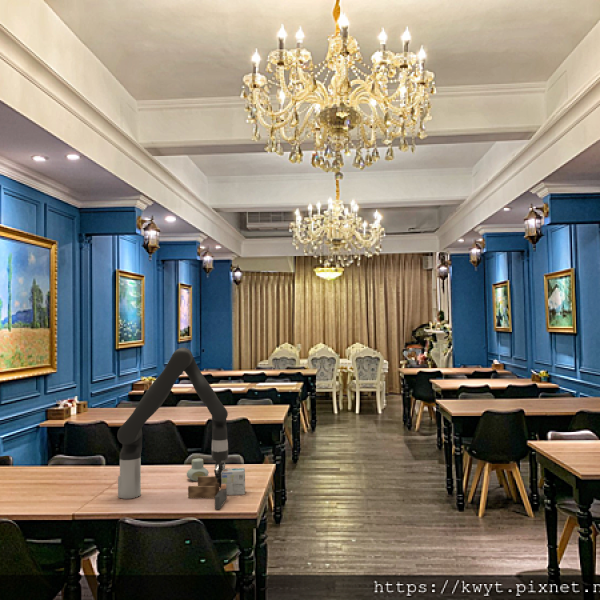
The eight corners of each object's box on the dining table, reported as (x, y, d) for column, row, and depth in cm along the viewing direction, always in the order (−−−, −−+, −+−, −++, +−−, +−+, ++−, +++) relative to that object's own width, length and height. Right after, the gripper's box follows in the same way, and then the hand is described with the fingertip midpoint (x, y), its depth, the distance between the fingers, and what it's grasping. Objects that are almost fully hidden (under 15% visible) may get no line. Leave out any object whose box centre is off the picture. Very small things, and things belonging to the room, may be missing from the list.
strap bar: (214, 509, 227) (214, 493, 227) (222, 498, 241) (222, 484, 241) (219, 509, 226) (219, 493, 227) (226, 498, 240) (226, 484, 241)
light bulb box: (245, 490, 254) (245, 467, 254) (244, 494, 247) (244, 470, 248) (222, 491, 253) (222, 467, 254) (221, 495, 246) (220, 471, 247)
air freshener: (207, 476, 280) (207, 457, 281) (209, 480, 273) (209, 460, 273) (185, 478, 277) (185, 458, 278) (187, 482, 269) (187, 462, 270)
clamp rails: (188, 498, 244) (188, 483, 244) (198, 486, 262) (198, 473, 262) (218, 498, 243) (218, 483, 243) (227, 486, 261) (227, 473, 261)
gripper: (215, 446, 260) (215, 482, 259) (208, 452, 247) (208, 490, 246) (230, 446, 259) (230, 483, 258) (224, 452, 246) (224, 491, 245)
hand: (219, 486), depth 252 cm, fingers closed
